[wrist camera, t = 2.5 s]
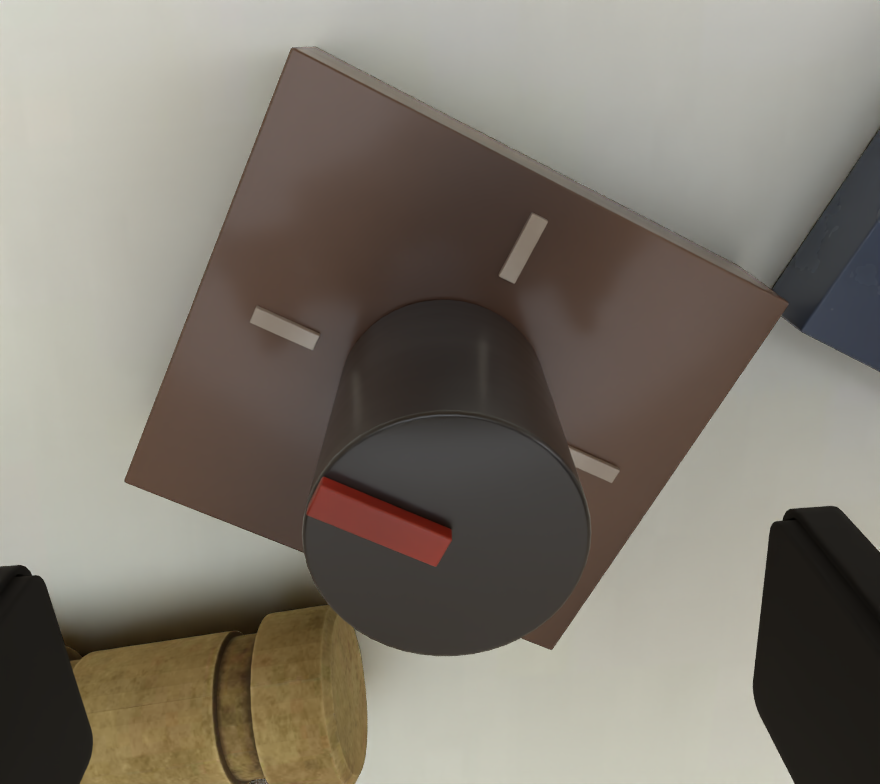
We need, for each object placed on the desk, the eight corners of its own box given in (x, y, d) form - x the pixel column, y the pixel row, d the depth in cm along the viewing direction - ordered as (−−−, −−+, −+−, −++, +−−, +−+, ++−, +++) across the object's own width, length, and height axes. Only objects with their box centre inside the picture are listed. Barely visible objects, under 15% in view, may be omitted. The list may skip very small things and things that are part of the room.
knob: (582, 353, 17) (652, 495, 12) (486, 515, 19) (508, 706, 13) (392, 262, 16) (372, 371, 11) (307, 440, 18) (254, 611, 12)
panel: (740, 266, 19) (793, 305, 16) (537, 577, 23) (553, 655, 20) (313, 45, 17) (289, 46, 14) (163, 424, 21) (120, 486, 18)
